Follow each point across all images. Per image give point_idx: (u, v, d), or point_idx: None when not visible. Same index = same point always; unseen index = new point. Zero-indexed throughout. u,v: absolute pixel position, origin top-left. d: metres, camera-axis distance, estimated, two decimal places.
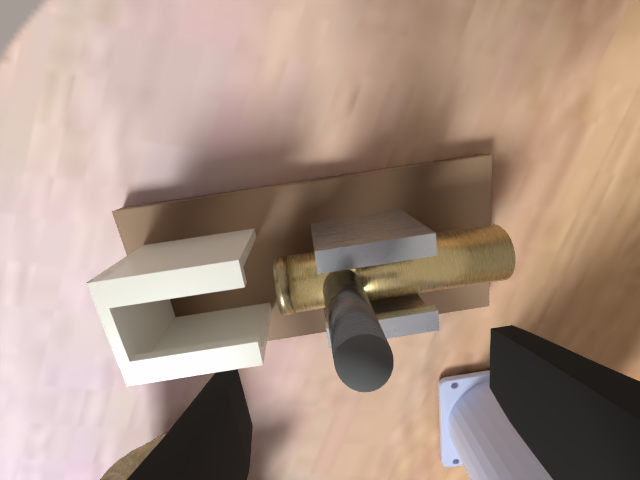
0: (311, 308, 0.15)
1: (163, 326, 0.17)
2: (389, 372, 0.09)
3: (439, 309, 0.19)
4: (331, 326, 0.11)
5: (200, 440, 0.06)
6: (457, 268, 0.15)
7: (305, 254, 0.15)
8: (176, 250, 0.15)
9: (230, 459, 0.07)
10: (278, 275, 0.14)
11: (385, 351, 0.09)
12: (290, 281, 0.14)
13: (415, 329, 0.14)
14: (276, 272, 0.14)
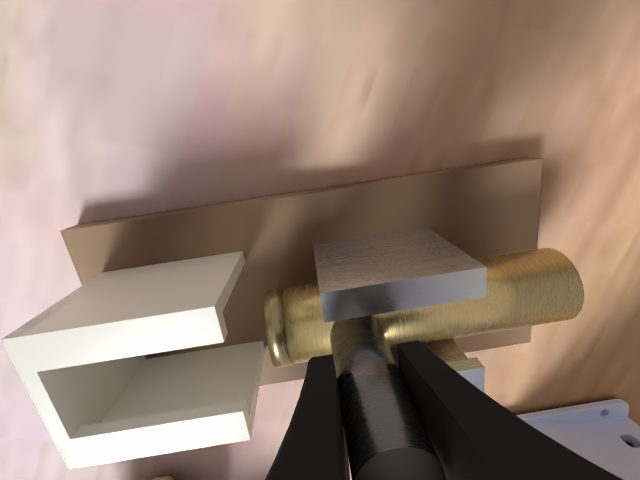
0: None
1: (127, 375, 0.13)
2: None
3: (470, 346, 0.16)
4: (346, 414, 0.07)
5: (336, 418, 0.06)
6: (507, 309, 0.11)
7: (306, 288, 0.12)
8: (138, 283, 0.12)
9: (343, 440, 0.07)
10: (271, 318, 0.11)
11: None
12: (287, 327, 0.11)
13: None
14: (268, 314, 0.11)
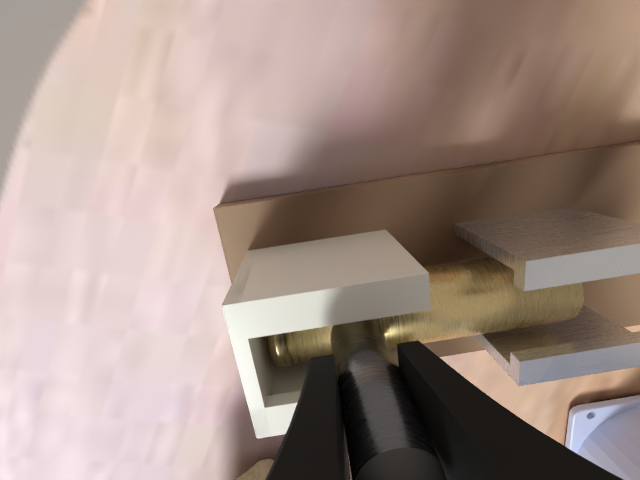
0: None
1: None
2: None
3: None
4: (346, 414, 0.07)
5: (336, 418, 0.06)
6: (507, 310, 0.11)
7: None
8: (307, 258, 0.12)
9: (343, 440, 0.07)
10: None
11: None
12: None
13: (631, 362, 0.11)
14: None
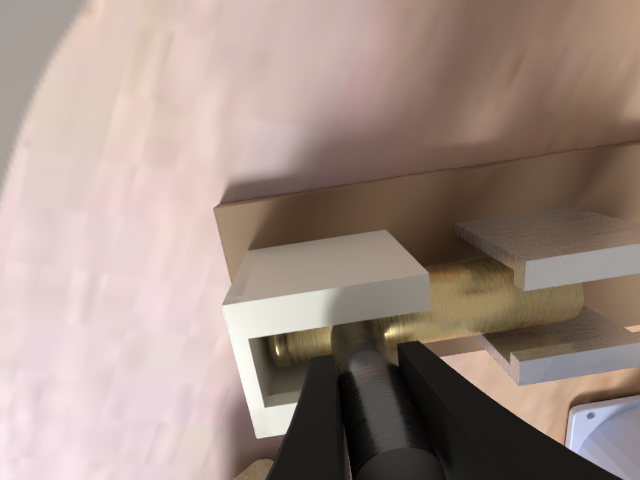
0: None
1: None
2: None
3: None
4: (346, 414, 0.07)
5: (336, 418, 0.06)
6: (507, 310, 0.11)
7: None
8: (307, 258, 0.12)
9: (343, 440, 0.07)
10: None
11: None
12: None
13: (631, 362, 0.11)
14: None
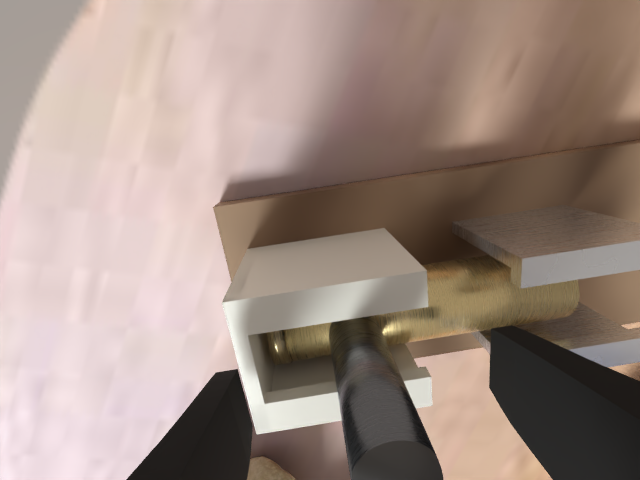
0: (313, 356, 0.12)
1: None
2: None
3: None
4: (344, 409, 0.08)
5: (200, 440, 0.06)
6: (504, 307, 0.11)
7: None
8: (306, 256, 0.12)
9: (230, 459, 0.07)
10: None
11: (433, 474, 0.06)
12: None
13: (626, 358, 0.11)
14: None
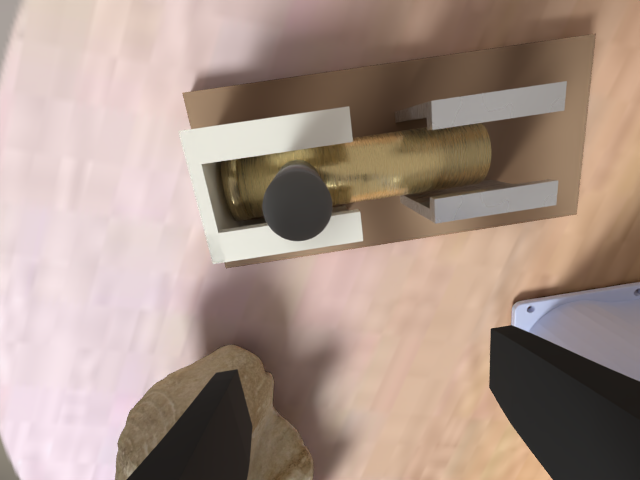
0: None
1: (236, 221, 0.16)
2: (324, 211, 0.08)
3: (523, 217, 0.18)
4: None
5: (200, 440, 0.06)
6: (426, 161, 0.13)
7: None
8: None
9: (230, 459, 0.07)
10: (226, 167, 0.13)
11: (319, 186, 0.08)
12: (239, 173, 0.13)
13: (530, 203, 0.13)
14: (224, 164, 0.13)
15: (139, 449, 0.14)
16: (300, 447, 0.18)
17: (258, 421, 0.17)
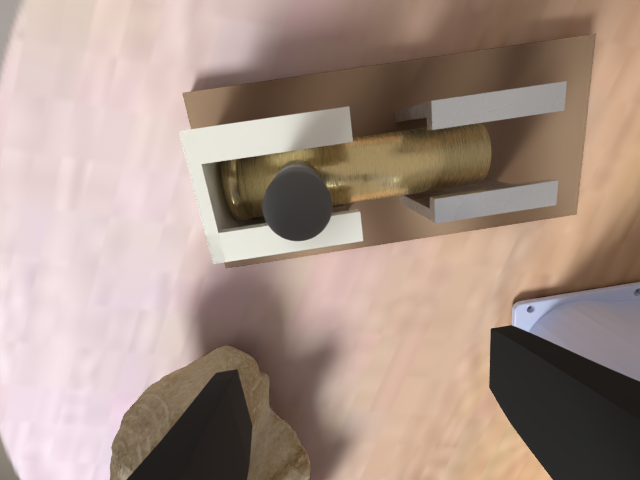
0: None
1: (236, 221, 0.16)
2: (324, 211, 0.08)
3: (523, 217, 0.18)
4: None
5: (200, 440, 0.06)
6: (426, 161, 0.13)
7: None
8: None
9: (230, 459, 0.07)
10: (226, 167, 0.13)
11: (319, 186, 0.08)
12: (239, 173, 0.13)
13: (530, 203, 0.13)
14: (224, 164, 0.13)
15: (132, 452, 0.14)
16: (297, 447, 0.18)
17: (254, 421, 0.17)
